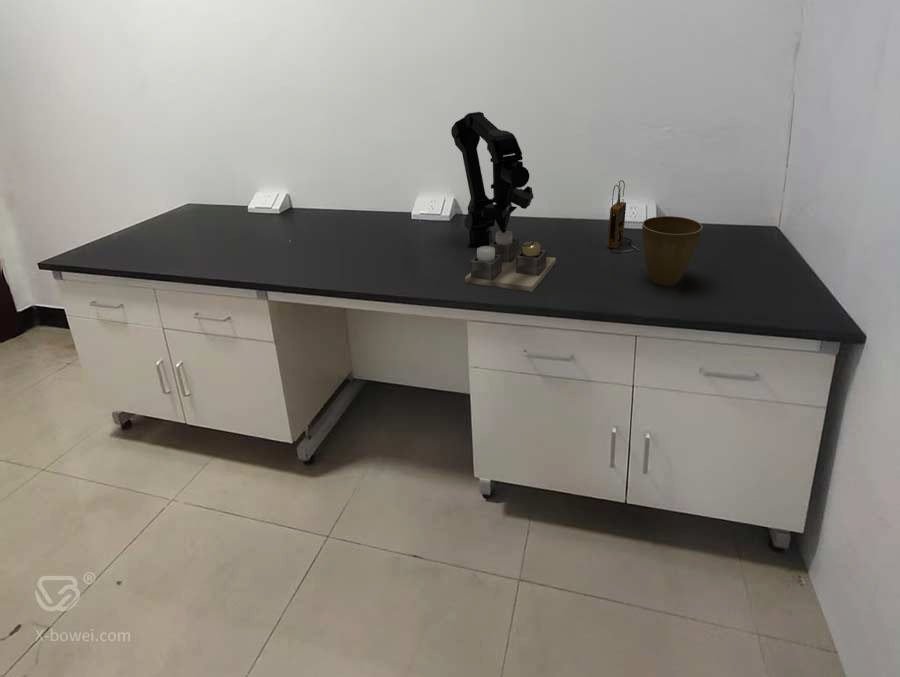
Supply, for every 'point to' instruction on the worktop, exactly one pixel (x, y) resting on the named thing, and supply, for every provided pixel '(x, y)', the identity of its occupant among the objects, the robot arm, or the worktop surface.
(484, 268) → the mount
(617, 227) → the multimeter
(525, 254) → the brass dial
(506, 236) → the knob back
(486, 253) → the knob front
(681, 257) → the plant pot
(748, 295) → the worktop surface
